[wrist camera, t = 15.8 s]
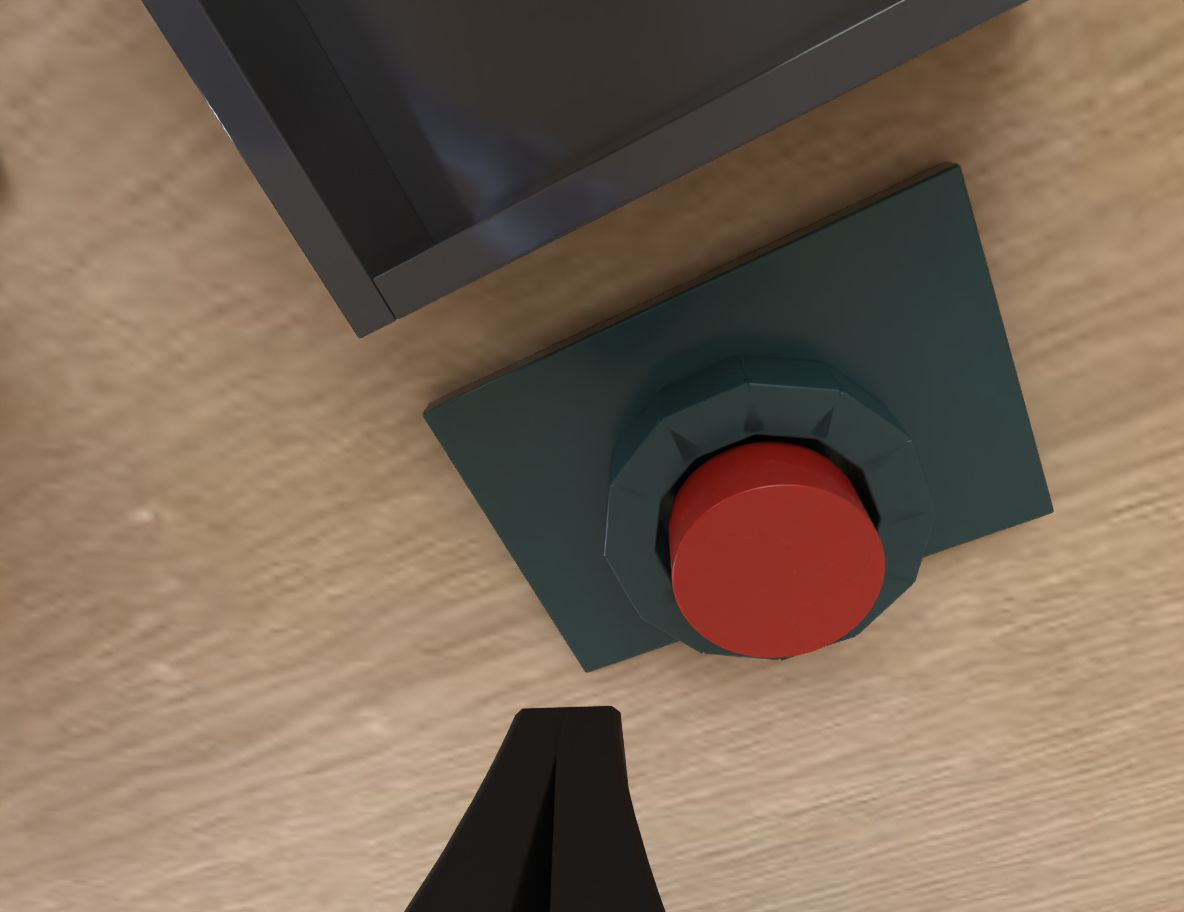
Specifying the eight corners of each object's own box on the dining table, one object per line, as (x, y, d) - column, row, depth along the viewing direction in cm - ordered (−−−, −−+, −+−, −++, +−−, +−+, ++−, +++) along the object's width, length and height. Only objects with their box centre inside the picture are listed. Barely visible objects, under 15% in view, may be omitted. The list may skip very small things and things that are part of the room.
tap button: (711, 624, 19) (719, 682, 17) (637, 484, 17) (637, 532, 15) (883, 565, 18) (912, 620, 16) (823, 409, 16) (846, 451, 14)
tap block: (589, 661, 22) (583, 725, 20) (427, 403, 19) (398, 446, 17) (1043, 504, 19) (1097, 559, 17) (948, 159, 16) (999, 171, 13)
